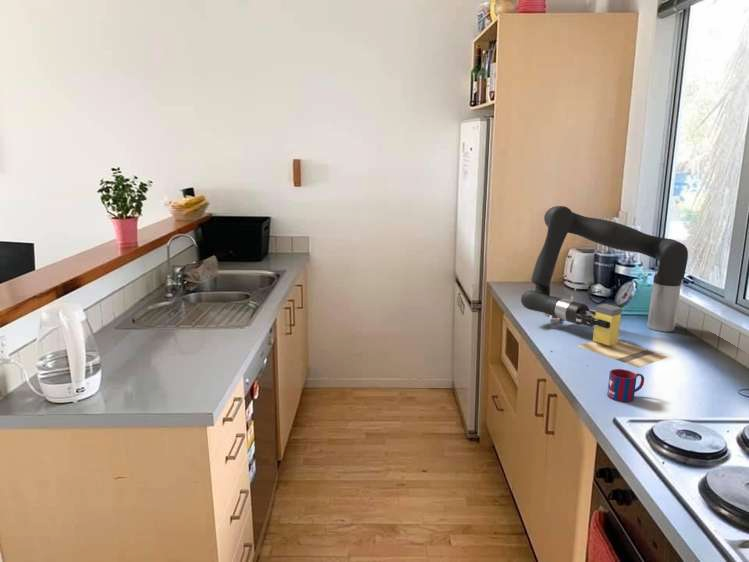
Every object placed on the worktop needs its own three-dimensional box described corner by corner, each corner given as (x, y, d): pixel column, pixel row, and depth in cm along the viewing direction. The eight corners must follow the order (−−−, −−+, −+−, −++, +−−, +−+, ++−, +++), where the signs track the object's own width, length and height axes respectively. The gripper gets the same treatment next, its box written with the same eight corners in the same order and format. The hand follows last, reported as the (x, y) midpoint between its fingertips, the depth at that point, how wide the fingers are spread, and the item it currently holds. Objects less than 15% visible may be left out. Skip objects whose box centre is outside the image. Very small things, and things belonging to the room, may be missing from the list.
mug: (602, 392, 162) (605, 369, 161) (636, 391, 164) (639, 368, 162) (615, 402, 156) (618, 379, 154) (650, 401, 157) (653, 377, 156)
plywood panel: (607, 340, 205) (607, 337, 205) (668, 360, 188) (668, 356, 187) (576, 349, 196) (576, 345, 195) (637, 370, 178) (638, 367, 178)
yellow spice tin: (601, 337, 201) (605, 303, 198) (617, 342, 196) (621, 308, 193) (592, 340, 198) (596, 306, 195) (608, 345, 193) (612, 310, 190)
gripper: (559, 304, 202) (602, 316, 188) (585, 298, 210) (628, 309, 196) (557, 324, 204) (600, 338, 190) (583, 318, 212) (626, 331, 198)
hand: (614, 324), depth 193 cm, fingers closed on yellow spice tin, 5 cm apart
